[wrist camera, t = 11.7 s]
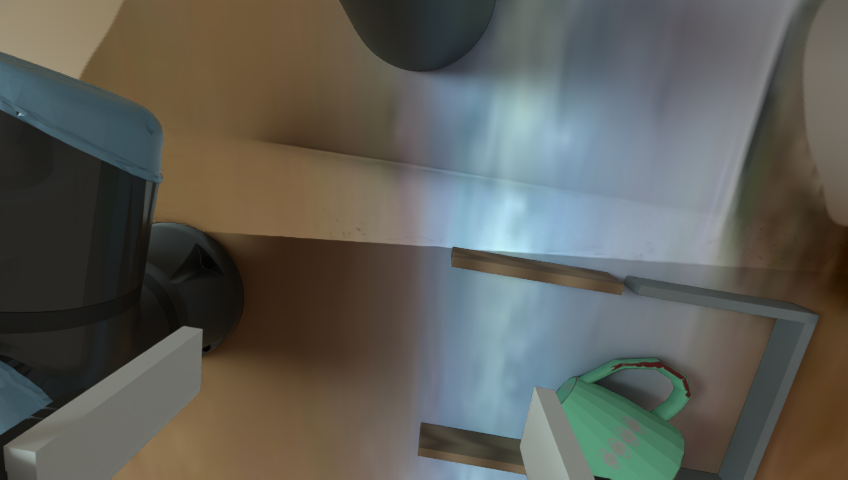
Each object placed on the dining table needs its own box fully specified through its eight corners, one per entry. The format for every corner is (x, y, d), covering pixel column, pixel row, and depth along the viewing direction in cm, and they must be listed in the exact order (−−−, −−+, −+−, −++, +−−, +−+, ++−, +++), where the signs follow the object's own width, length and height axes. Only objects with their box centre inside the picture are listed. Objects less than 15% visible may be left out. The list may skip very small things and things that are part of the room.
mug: (523, 425, 46) (598, 493, 43) (541, 442, 36) (638, 531, 34) (601, 325, 48) (676, 386, 46) (637, 318, 39) (733, 393, 36)
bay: (420, 430, 47) (417, 455, 43) (453, 246, 42) (453, 256, 38) (557, 454, 46) (568, 482, 42) (607, 272, 41) (624, 285, 38)
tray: (575, 457, 46) (584, 477, 43) (626, 275, 41) (640, 285, 39) (723, 483, 46) (742, 505, 43) (793, 303, 41) (819, 315, 38)
